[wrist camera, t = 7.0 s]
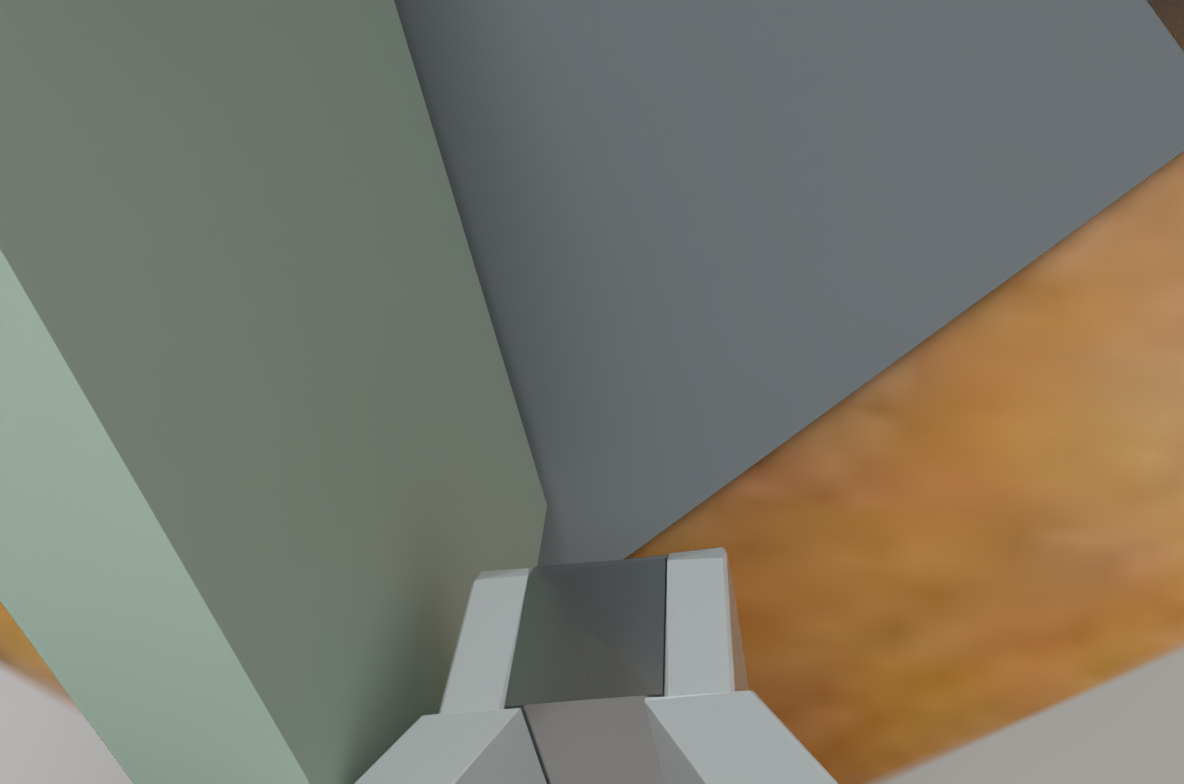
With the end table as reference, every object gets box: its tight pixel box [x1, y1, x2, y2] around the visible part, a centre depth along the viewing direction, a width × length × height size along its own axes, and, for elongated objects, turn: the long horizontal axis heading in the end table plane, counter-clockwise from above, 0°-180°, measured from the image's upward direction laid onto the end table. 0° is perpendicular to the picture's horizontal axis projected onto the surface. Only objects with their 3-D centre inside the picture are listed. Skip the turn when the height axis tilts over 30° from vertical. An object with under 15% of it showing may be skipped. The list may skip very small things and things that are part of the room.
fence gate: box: [0, 0, 547, 784], centre depth 9 cm, size 9×1×7 cm, turn 12°
